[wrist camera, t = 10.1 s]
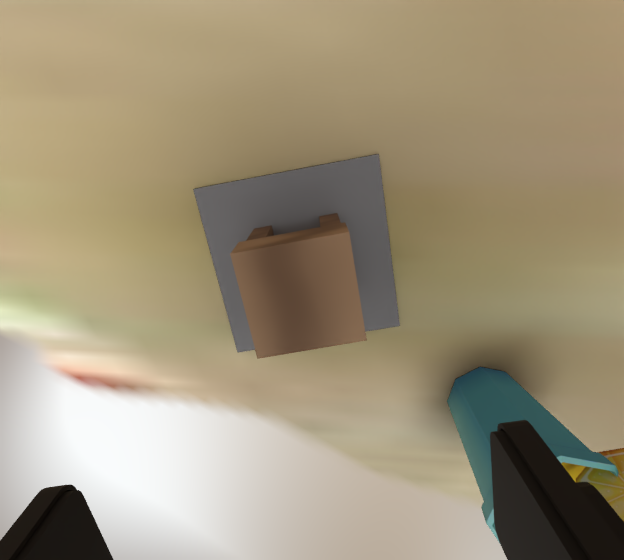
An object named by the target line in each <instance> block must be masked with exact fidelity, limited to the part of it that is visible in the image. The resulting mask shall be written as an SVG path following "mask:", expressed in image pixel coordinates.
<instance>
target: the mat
mask: <svg viewBox="0 0 624 560" xmlns="http://www.w3.org/2000/svg"><path fill="white" fill-rule="evenodd" d="M193 190H194V194H195V197H196V201H197V205H198V209H199V212H200V216H201V220H202V223H203V227H204V231H205V234H206V238H207V242H208V245H209V249H210V253H211V256H212V260H213V264H214V267H215V271H216V275H217V278H218V282H219V286H220V289H221V293H222V297H223V300H224V304H225V308H226V311H227V315H228V319H229V322H230V326H231V330H232V334H233V337H234V341H235V345H236V348H237V352H243V351H250V350H255V347H254V343H253V339H252V335H251V332H250V328H249V324H248V320H247V316H246V313H245V309H244V305H243V301H242V297H241V294H240V290H239V286H238V282H237V278H236V275H235V271H234V267H233V263H232V259H231V256H230V253H231V252H232V251H233V249H234V248H235V247H236V245H237V244H238V242H242V241H246V240H247V238H248V237H249V235H250V234H251V232H252V231H253V229H254V228H260V227H265V226H270V225H272V229H273V234H274V235H280V234H285V233H291V232H296V231H301V230H307V229H312V228H317V227H320V219H319V216H324V215H329V214H334V213H337V214H338V216H339V219H340V222H341V223H344V222H345V223H346V226H347V228H348V230H349V234H350V240H351V246H352V253H353V259H354V265H355V271H356V277H357V284H358V290H359V296H360V302H361V308H362V315H363V321H364V327H365V332H366V331H372V330H378V329H384V328H390V327H396V326H400V323H399V315H398V307H397V299H396V290H395V282H394V274H393V266H392V258H391V250H390V242H389V233H388V225H387V217H386V209H385V201H384V193H383V185H382V176H381V168H380V160H379V154H375V155H370V156H365V157H360V158H354V159H349V160H344V161H338V162H333V163H328V164H322V165H317V166H312V167H307V168H301V169H296V170H291V171H285V172H280V173H275V174H269V175H264V176H259V177H254V178H248V179H243V180H238V181H232V182H227V183H222V184H217V185H211V186H206V187H201V188H195V189H193Z"/></svg>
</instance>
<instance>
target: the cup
mask: <svg viewBox="0 0 624 560" xmlns="http://www.w3.org/2000/svg"><path fill="white" fill-rule="evenodd" d="M447 402H448V405H449V408H450V411H451V413H452V416H453V419H454V421H455V424H456V427H457V430H458V432H459V435H460V438H461V440H462V443H463V446H464V448H465V451H466V454H467V457H468V459H469V462H470V465H471V467H472V470H473V473H474V476H475V478H476V481H477V484H478V486H479V489H480V492H481V495H482V497H483V500H484V503H483V505H482V511H483V514H484V517H485V520H486V523H487V525H488V526H489V528H490V529H491V531H492V532H493V534H494V535H495V537H496V538H497V539H498V536H497V533H496V530H495V524H494V508H493V487H492V467H491V447H490V433H491V432H494V431H497V426H498V424H500V423H505V422H512V421H520V420H527V421H528V422H529V423H530V424H531V425H532V426H533V427H534V429H535V430H536V431H537V433H538V434H539V435H540V437H541V438H542V439H543V440H544V442H545V443H546V444H547V446H548V447H549V448H550V450H551V451H552V452H553V454H554V455H555V456H556V457H557V459H558V460H559V461H560V463H561V464H562V465H563V467H564V468H565V469H566V471H567V472H568V473H569V474H570V476H571V477H572V478H573V480H574V481H575V482H576V483H577V482H588V483H590V484H591V485H593V486H594V487H595V488H596V489H597V490H598V491H599V492H600V493H601V494H602V496H603V497H604V498H605V499H606V501H607V502H608V503H609V504H610V505H611V507H612V508H613V509H614V510H615V512H616V513H617V514H618V515H619V517H620V518H621V519H622V520H623V521H624V448H621V449H615V450H609V451H603V452H598V453H596V452H592V451H591V450H589V449H588V448H587V447H586V446H585V445H584V444H583V443H582V442H581V441H580V440H579V439H578V438H576V437H575V436H574V435H573V434H572V433H571V432H570V431H569V430H568V429H567V428H566V427H565V426H563V425H562V424H561V423H560V422H559V421H558V420H557V419H556V418H555V417H554V416H553V415H552V414H550V413H549V412H548V411H547V410H546V409H545V408H544V407H543V406H542V405H541V404H540V403H539V402H537V401H536V400H535V399H534V398H533V397H532V396H531V395H530V394H529V393H528V392H527V391H526V390H524V389H523V388H522V387H521V386H520V385H519V384H518V383H517V382H516V381H515V380H514V379H512V378H511V377H510V376H509V375H508V374H507V373H506V372H504V371H499V370H494V369H489V368H483V367H478V368H477V369H475V370H473V371H471V372H469V373H467V374H465V375H463V376H461V377H459V378H457V379H456V380H455V382H454V385H453V387H452V390H451V393H450V395H449V398H448V400H447ZM498 541H499V539H498ZM499 543H500V542H499Z"/></svg>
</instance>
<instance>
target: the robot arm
mask: <svg viewBox="0 0 624 560" xmlns="http://www.w3.org/2000/svg"><path fill="white" fill-rule="evenodd" d="M490 447H491V467H492V487H493V508H494V524H495V530H496V533H497V536H498V539H499V542H500V544H501V546H502V548H503V550H504V553H505V555H506V557H507V559H508V560H624V521H623V520H622V519H621V518H620V517H619V515H618V514H617V513H616V512H615V510H614V509H613V508H612V507H611V505H610V504H609V503H608V502H607V501H606V499H605V498H604V497H603V496H602V494H601V493H600V492H599V491H598V490H597V489H596V488H595V487H594V486H593V485H591V484H590V483H588V482H577V483H576V482H575V481H574V480H573V478H572V477H571V476H570V474H569V473H568V472H567V471H566V469H565V468H564V467H563V465H562V464H561V463H560V461H559V460H558V459H557V457H556V456H555V455H554V454H553V452H552V451H551V450H550V448H549V447H548V446H547V444H546V443H545V442H544V440H543V439H542V438H541V437H540V435H539V434H538V433H537V431H536V430H535V429H534V427H533V426H532V425H531V424H530V423H529V422H528V421H527V420H520V421H512V422H505V423H500V424H498V426H497V431H494V432H491V433H490ZM0 560H113V558H112V556H111V554H110V552H109V549H108V547H107V545H106V543H105V541H104V539H103V537H102V534H101V533H100V530H99V528H98V526H97V524H96V522H95V519H94V517H93V515H92V513H91V511H90V509H89V507H88V505H87V502H86V500H85V498H84V496H83V494H82V493H81V491H79V490H76V488H75V487H74V486H73V485H62V486H55V487H49V488H44V489H43V490H41V491H40V492H39V493H38V494H37V495H36V496H35V498H34V499H33V500H32V502H31V503H30V504H29V505H28V506H27V508H26V509H25V510H24V512H23V513H22V514H21V515H20V517H19V518H18V519H17V520H16V522H15V523H14V524H13V525H12V527H11V528H10V529H9V530H8V532H7V533H6V535H5V536H4V537H3V538H2V539H1V541H0Z"/></svg>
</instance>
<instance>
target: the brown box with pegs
mask: <svg viewBox="0 0 624 560" xmlns="http://www.w3.org/2000/svg"><path fill="white" fill-rule="evenodd" d="M319 219H320V227H317V228H312V229H307V230H301V231H296V232H291V233H285V234H280V235H274V234H273V229H272V225H270V226H265V227H260V228H254V229H253V231H252V232H251V234H250V235H249V237H248V238H247V240H246V241H242V242H238V244H237V245H236V247H235V248H234V249H233V251H232V252H231V253H230V256H231V259H232V263H233V267H234V271H235V275H236V278H237V282H238V286H239V290H240V294H241V297H242V301H243V305H244V309H245V313H246V316H247V320H248V324H249V328H250V332H251V335H252V339H253V343H254V347H255V351H256V355H257V358H264V357H270V356H276V355H282V354H288V353H294V352H300V351H305V350H311V349H317V348H323V347H329V346H335V345H341V344H347V343H353V342H359V341H365V340H367V339H366V333H365V327H364V321H363V315H362V308H361V302H360V296H359V290H358V284H357V277H356V271H355V265H354V259H353V253H352V246H351V240H350V234H349V230H348V228H347V226H346V223H345V222H344V223H341V222H340V219H339V216H338V214H337V213H334V214H329V215H324V216H319Z"/></svg>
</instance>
